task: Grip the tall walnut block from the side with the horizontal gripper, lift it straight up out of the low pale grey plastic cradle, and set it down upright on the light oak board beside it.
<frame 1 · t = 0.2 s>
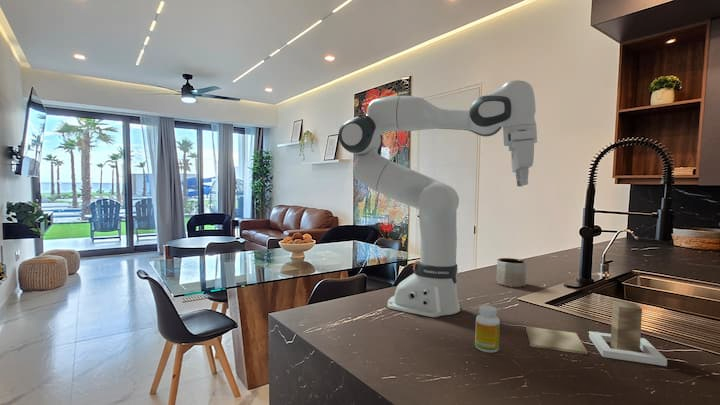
hand: (522, 185, 106), 39 cm above the countertop, tool pointing down, fingers open, 8 cm apart
oak board: (554, 340, 92), on the countertop
supplement bottle: (486, 349, 87), on the countertop
walnut block: (625, 327, 87), in the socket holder
planter: (510, 284, 147), on the countertop
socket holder: (624, 350, 87), on the countertop
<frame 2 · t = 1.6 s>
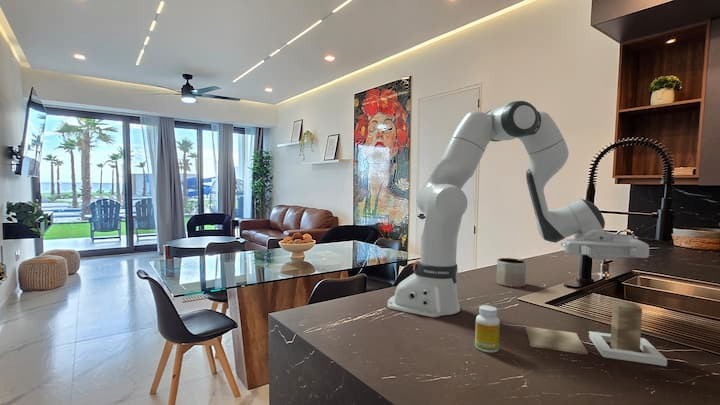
hand: (612, 253, 99), 21 cm above the countertop, tool horizontal, fingers open, 8 cm apart
nothing on the countertop moved.
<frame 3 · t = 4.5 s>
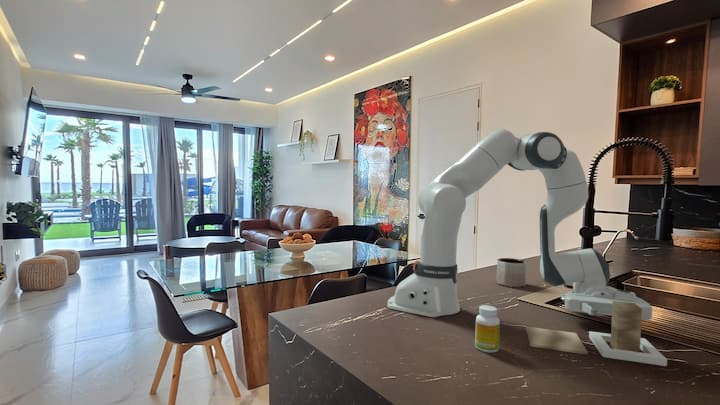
hand: (614, 314, 95), 6 cm above the countertop, tool horizontal, fingers open, 8 cm apart
nothing on the countertop moved.
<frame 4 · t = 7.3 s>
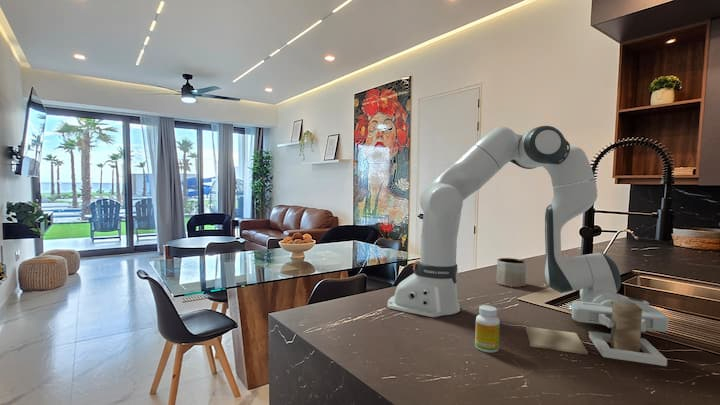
hand: (627, 326, 86), 6 cm above the countertop, tool horizontal, fingers closed on walnut block, 4 cm apart
walnut block: (625, 327, 87), in the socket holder, touching gripper
everything else where it was.
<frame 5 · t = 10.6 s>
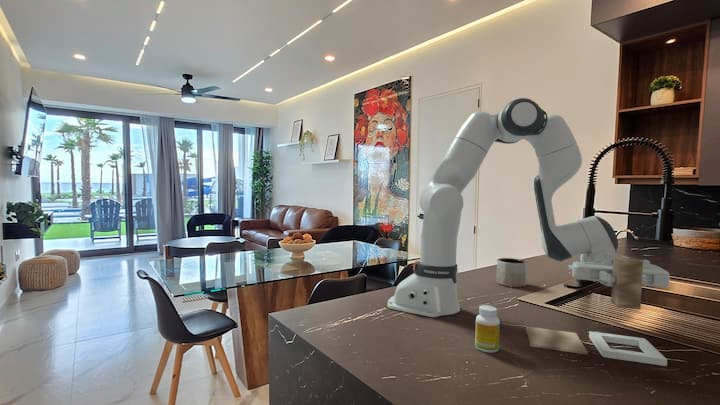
hand: (628, 281, 86), 17 cm above the countertop, tool horizontal, fingers closed on walnut block, 4 cm apart
walnut block: (626, 282, 87), point 16 cm above the countertop, touching gripper
everything else where it was.
when the fingers open (8 cm above the countertop, at t = 13.9 s): walnut block drops 1 cm, resting on oak board.
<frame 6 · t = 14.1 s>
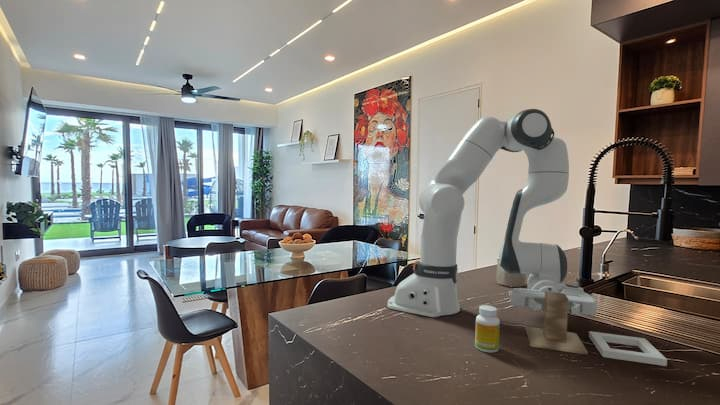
hand: (556, 310, 91), 8 cm above the countertop, tool horizontal, fingers open, 7 cm apart
walnut block: (555, 316, 92), on the oak board, point 6 cm above the countertop
everything else where it was.
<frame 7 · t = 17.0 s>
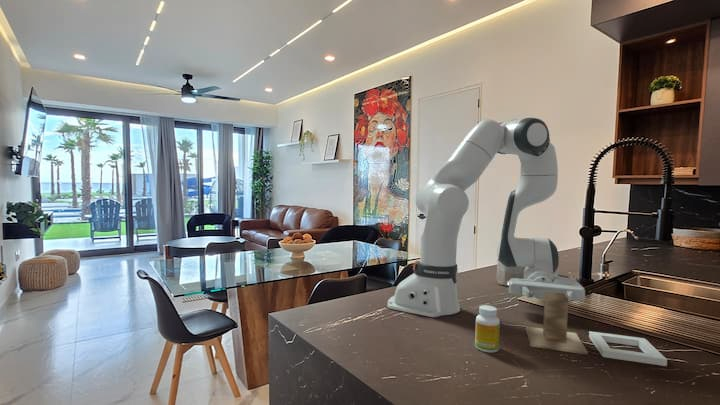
hand: (548, 296, 103), 8 cm above the countertop, tool horizontal, fingers open, 8 cm apart
nothing on the countertop moved.
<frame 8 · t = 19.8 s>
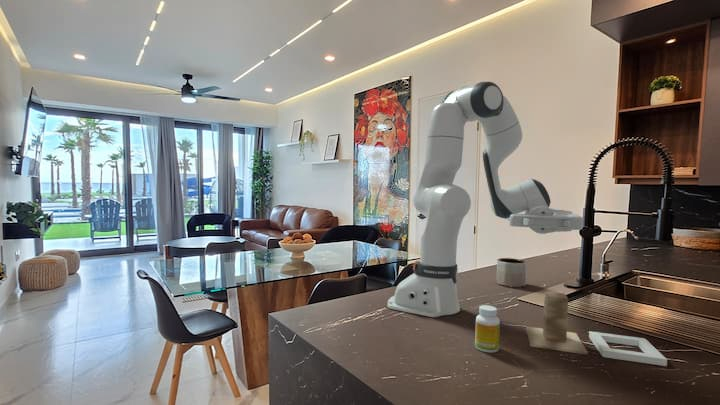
hand: (548, 223, 107), 28 cm above the countertop, tool horizontal, fingers open, 8 cm apart
nothing on the countertop moved.
at the end: walnut block inside the target area on the oak board (0.0 cm from its centre), point 6.1 cm above the oak board's base; walnut block tilted 0°; the gripper is holding nothing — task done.
